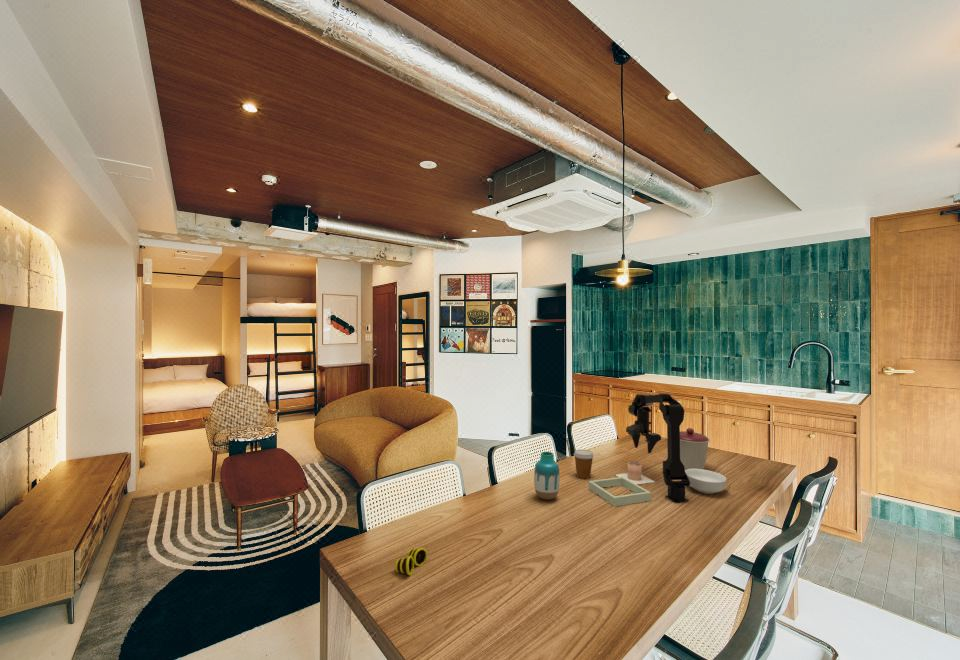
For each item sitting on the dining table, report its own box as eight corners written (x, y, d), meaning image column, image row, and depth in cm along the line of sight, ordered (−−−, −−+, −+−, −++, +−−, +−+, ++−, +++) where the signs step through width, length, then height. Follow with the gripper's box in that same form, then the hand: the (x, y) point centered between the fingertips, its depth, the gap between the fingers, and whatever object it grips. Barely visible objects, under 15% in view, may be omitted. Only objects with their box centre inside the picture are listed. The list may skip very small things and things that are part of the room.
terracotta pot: (644, 479, 190) (644, 464, 190) (633, 481, 188) (633, 466, 188) (635, 475, 196) (635, 460, 196) (624, 476, 195) (624, 461, 194)
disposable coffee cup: (588, 481, 189) (589, 456, 188) (570, 477, 194) (570, 452, 194) (596, 476, 196) (596, 451, 196) (578, 471, 202) (578, 447, 202)
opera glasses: (415, 560, 125) (413, 543, 126) (428, 561, 123) (426, 545, 123) (394, 576, 117) (392, 559, 117) (408, 579, 114) (406, 561, 115)
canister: (673, 472, 202) (674, 431, 202) (667, 461, 219) (668, 422, 219) (713, 476, 197) (714, 434, 197) (704, 464, 214) (705, 425, 214)
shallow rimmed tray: (650, 500, 168) (651, 492, 168) (614, 506, 163) (614, 497, 163) (622, 484, 186) (622, 476, 186) (588, 488, 180) (588, 481, 180)
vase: (530, 500, 168) (531, 454, 168) (538, 491, 177) (539, 448, 177) (554, 505, 163) (555, 458, 163) (562, 496, 172) (562, 451, 172)
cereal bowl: (723, 501, 169) (724, 485, 169) (680, 491, 179) (680, 475, 179) (728, 489, 182) (728, 473, 182) (687, 480, 192) (688, 465, 192)
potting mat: (655, 482, 188) (655, 481, 188) (632, 485, 184) (632, 484, 184) (636, 473, 201) (636, 472, 201) (614, 475, 197) (614, 474, 197)
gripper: (617, 416, 205) (617, 446, 205) (642, 424, 187) (642, 457, 187) (635, 414, 208) (635, 444, 209) (662, 423, 191) (661, 455, 191)
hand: (642, 450), depth 199 cm, fingers open, 9 cm apart
